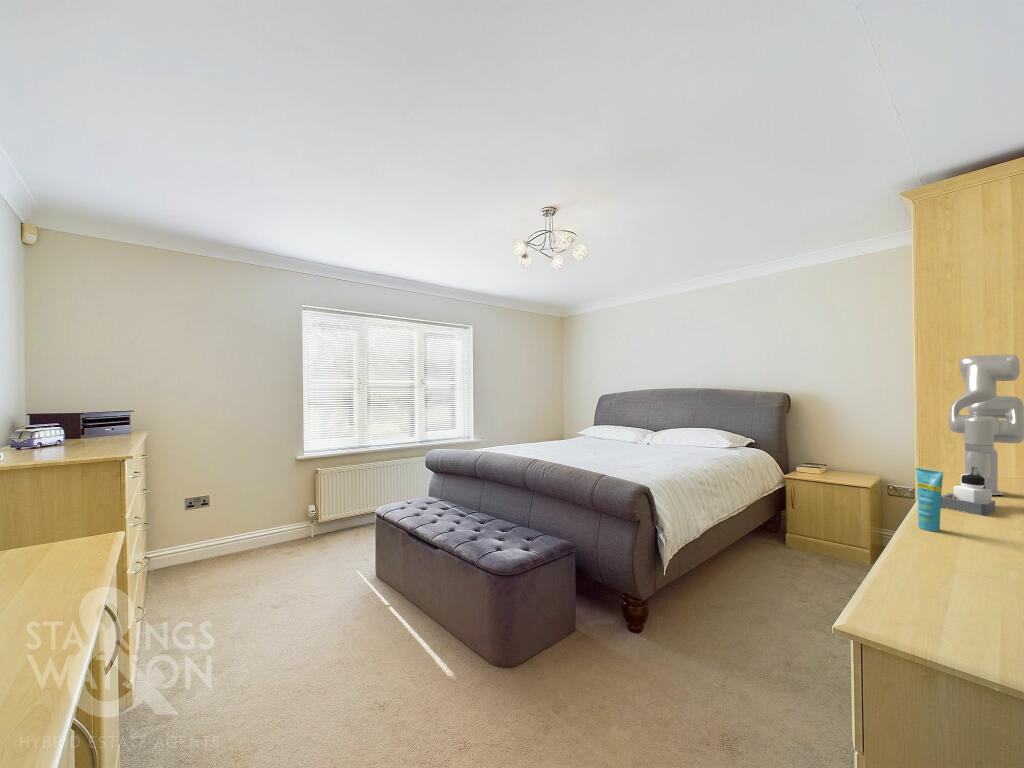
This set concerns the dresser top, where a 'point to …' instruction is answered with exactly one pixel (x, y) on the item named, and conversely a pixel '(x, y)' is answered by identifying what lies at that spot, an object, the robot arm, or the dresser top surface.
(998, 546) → the dresser top surface
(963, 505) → the box
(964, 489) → the medicine bottle
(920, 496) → the tube
